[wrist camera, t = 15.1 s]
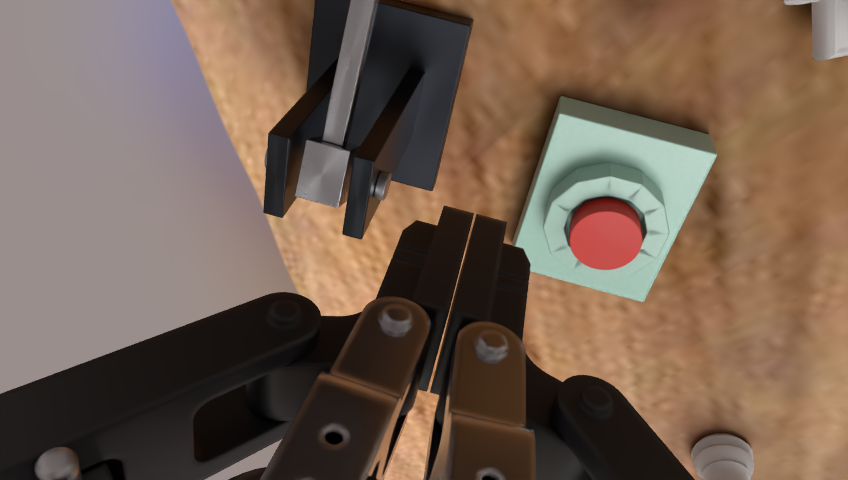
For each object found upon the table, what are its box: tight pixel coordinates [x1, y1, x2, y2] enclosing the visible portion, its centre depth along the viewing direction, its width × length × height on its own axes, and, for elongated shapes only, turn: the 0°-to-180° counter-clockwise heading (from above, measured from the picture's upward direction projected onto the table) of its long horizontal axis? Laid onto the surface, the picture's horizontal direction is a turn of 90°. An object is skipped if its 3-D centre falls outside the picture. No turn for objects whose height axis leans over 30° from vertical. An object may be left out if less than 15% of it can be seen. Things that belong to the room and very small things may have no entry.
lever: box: [295, 0, 379, 208], centre depth 32 cm, size 12×5×2 cm, turn 169°
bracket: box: [263, 0, 473, 239], centre depth 37 cm, size 11×9×13 cm
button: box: [569, 198, 643, 270], centre depth 39 cm, size 4×4×2 cm
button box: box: [512, 96, 717, 302], centre depth 41 cm, size 11×9×4 cm
